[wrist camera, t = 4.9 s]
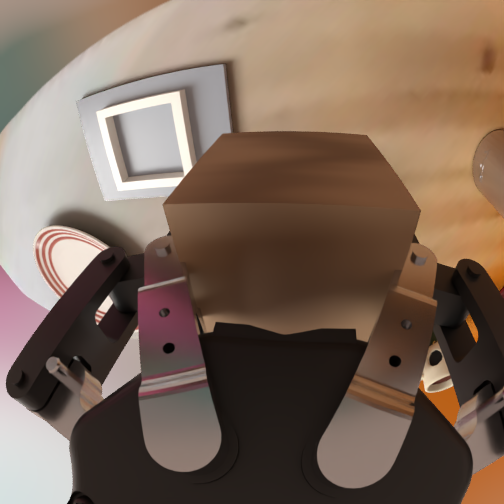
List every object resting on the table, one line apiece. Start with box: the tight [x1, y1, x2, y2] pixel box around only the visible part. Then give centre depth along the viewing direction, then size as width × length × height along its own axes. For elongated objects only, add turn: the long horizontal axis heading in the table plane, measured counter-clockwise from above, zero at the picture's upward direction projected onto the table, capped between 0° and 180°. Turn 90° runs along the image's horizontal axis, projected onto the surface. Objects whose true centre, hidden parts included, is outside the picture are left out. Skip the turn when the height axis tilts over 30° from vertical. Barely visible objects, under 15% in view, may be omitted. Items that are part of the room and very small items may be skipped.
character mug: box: [421, 331, 453, 392], centre depth 35 cm, size 11×7×13 cm, turn 112°
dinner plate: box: [33, 225, 139, 332], centre depth 44 cm, size 27×27×3 cm
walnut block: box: [163, 131, 421, 342], centre depth 10 cm, size 6×6×6 cm
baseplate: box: [76, 64, 233, 201], centre depth 26 cm, size 18×14×2 cm
